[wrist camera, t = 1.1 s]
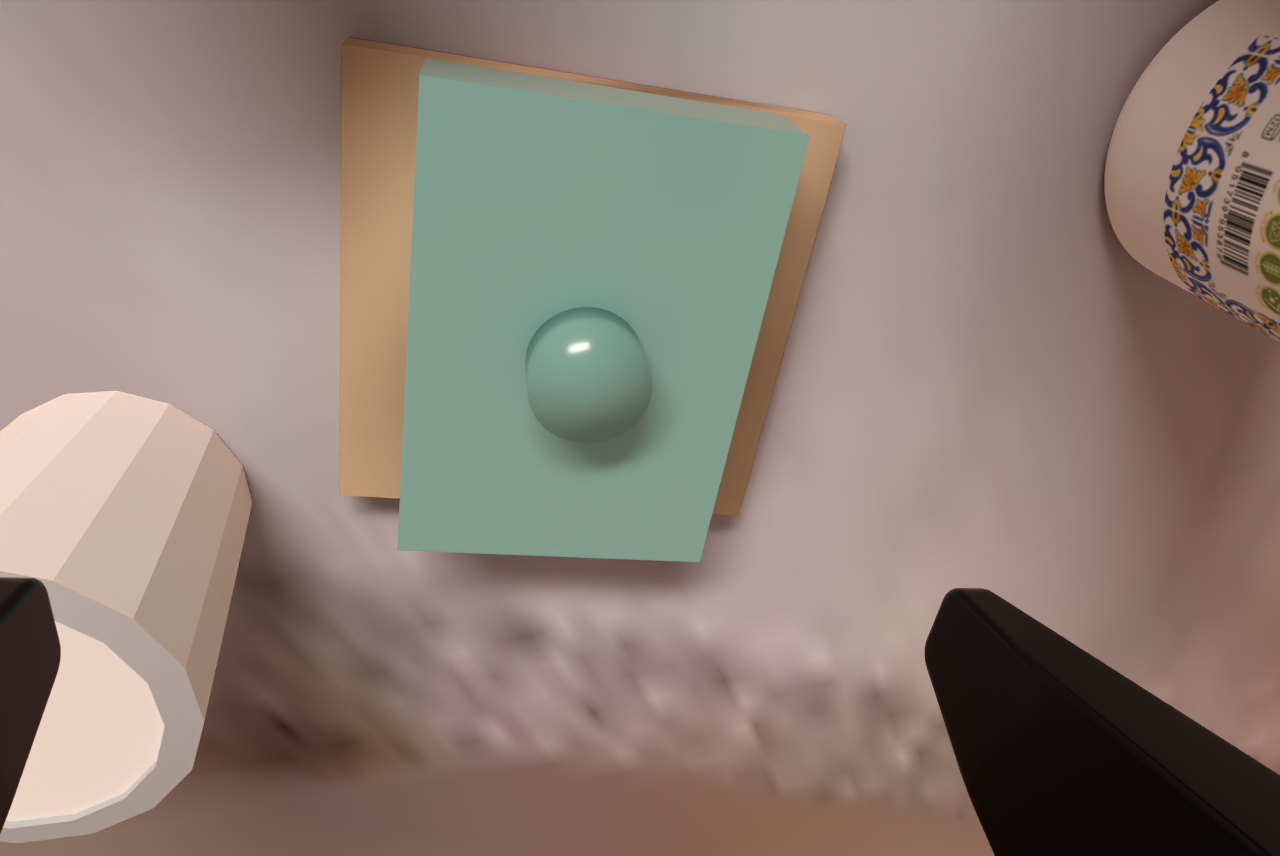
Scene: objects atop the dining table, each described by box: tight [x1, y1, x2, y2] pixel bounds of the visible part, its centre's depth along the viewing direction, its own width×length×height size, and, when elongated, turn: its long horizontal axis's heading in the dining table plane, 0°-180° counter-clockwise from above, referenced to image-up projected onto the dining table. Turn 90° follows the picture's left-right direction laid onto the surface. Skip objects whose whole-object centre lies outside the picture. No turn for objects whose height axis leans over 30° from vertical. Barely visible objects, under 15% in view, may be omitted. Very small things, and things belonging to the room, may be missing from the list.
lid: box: [397, 58, 810, 562], centre depth 18 cm, size 7×10×3 cm
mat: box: [339, 37, 846, 516], centre depth 20 cm, size 10×10×1 cm
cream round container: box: [0, 391, 252, 843], centre depth 18 cm, size 7×7×7 cm
